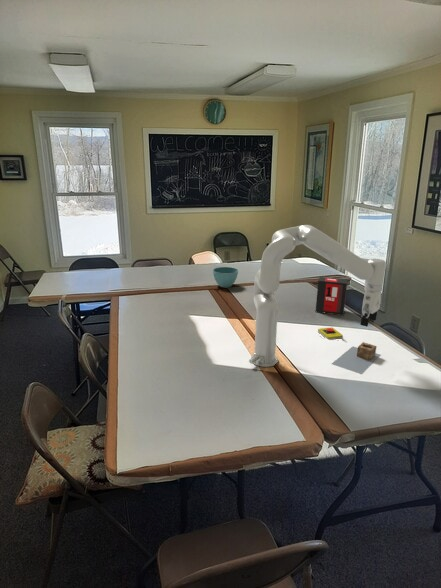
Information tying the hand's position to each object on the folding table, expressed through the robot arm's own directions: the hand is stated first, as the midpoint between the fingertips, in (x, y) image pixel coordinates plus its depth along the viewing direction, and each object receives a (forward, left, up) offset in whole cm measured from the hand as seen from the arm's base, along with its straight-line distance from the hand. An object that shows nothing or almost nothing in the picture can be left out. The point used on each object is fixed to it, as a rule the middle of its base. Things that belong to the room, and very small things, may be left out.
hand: (368, 322), depth 186 cm
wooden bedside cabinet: (+1, -1, -17) cm, 17 cm away
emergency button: (+13, +23, -19) cm, 32 cm away
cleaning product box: (+49, +40, -19) cm, 66 cm away
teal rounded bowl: (+46, +121, -19) cm, 131 cm away
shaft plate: (-5, +1, -18) cm, 19 cm away
